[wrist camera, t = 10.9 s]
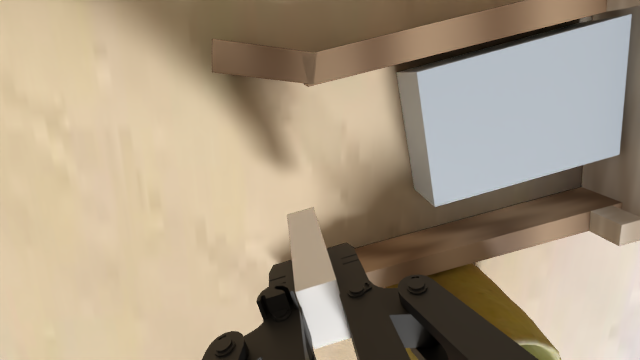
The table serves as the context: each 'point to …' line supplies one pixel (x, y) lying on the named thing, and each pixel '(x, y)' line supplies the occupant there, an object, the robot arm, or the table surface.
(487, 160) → the pale blue block
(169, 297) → the table surface
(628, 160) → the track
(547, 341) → the mug
